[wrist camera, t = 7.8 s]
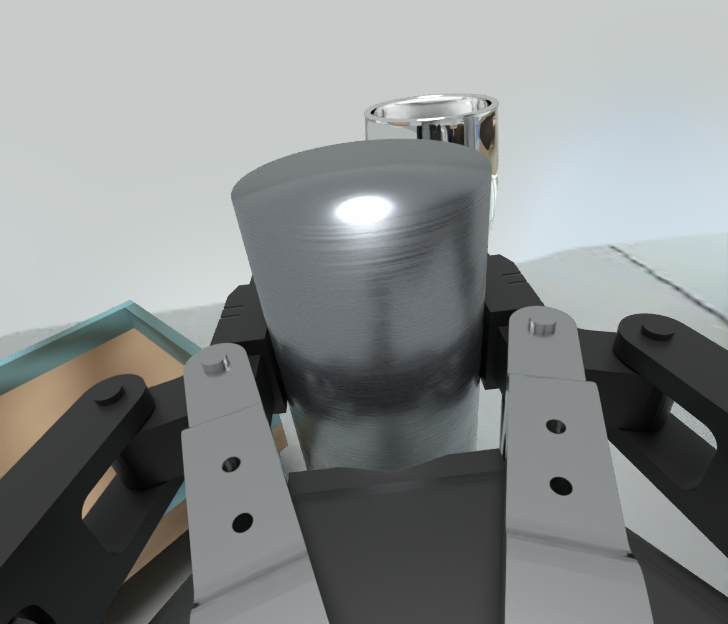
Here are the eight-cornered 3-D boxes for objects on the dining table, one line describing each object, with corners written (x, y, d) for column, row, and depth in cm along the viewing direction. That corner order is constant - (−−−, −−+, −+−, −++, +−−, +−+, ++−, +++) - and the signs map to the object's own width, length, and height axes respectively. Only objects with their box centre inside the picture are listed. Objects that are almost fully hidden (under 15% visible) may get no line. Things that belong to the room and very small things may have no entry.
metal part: (383, 410, 17) (352, 132, 11) (502, 478, 14) (539, 150, 8) (286, 503, 14) (181, 194, 8) (409, 610, 11) (372, 252, 6)
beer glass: (361, 342, 31) (333, 112, 23) (435, 304, 34) (433, 89, 26) (429, 396, 26) (424, 127, 18) (508, 346, 29) (535, 97, 21)
